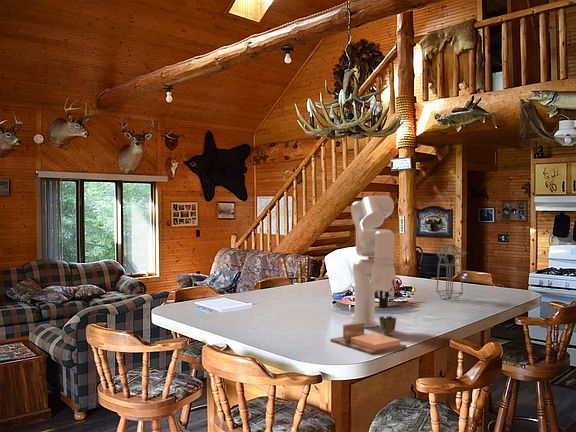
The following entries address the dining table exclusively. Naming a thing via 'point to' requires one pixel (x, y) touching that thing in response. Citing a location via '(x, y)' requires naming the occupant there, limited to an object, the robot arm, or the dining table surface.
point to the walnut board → (342, 342)
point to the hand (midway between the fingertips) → (383, 307)
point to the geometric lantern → (450, 268)
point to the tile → (375, 341)
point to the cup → (387, 325)
